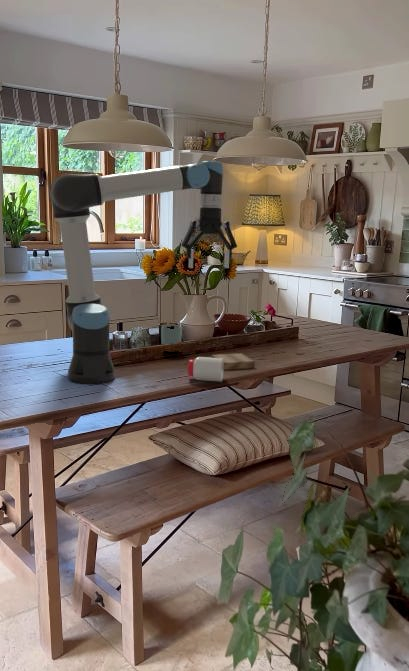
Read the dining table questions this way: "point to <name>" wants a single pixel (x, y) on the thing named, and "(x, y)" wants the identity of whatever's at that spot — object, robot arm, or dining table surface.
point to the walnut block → (236, 361)
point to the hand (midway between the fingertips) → (208, 267)
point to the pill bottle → (206, 369)
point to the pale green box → (170, 334)
